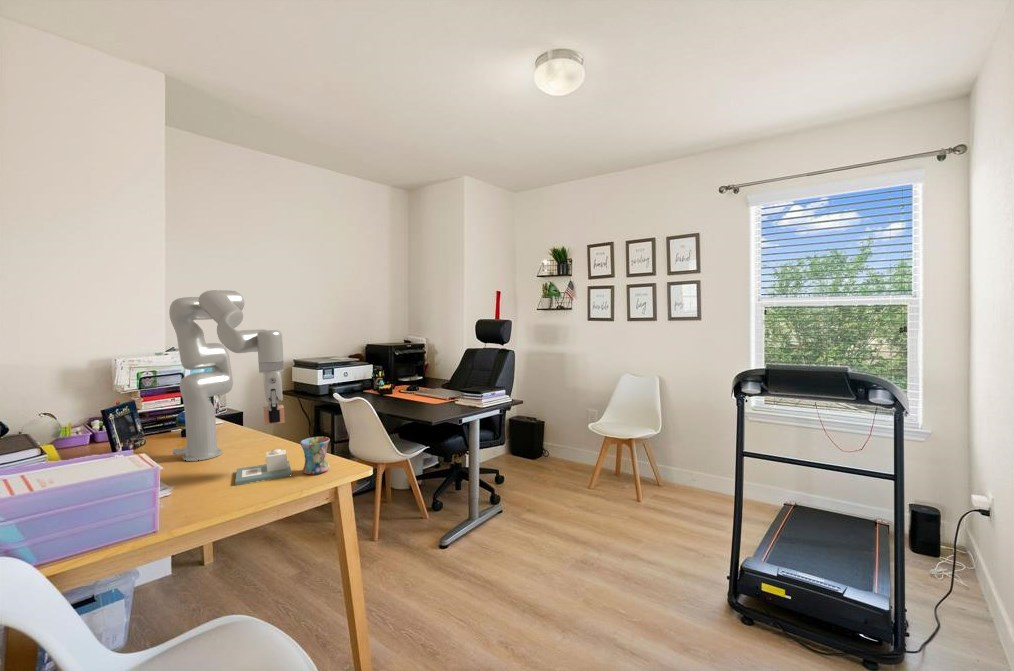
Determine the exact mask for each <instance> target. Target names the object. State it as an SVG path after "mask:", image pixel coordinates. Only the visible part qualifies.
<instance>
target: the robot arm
mask: <svg viewBox="0 0 1014 671" xmlns="http://www.w3.org/2000/svg"><path fill="white" fill-rule="evenodd" d="M244 308H245V299H244V297H243V296H242V294H241V293H239V292H238V291H236V290H227V289H226V290H224V289H222V290H221V289H220V290H217V289H210V290H206V291H204V292H202V293H201V294H200V295H199V296H186V297H185V296H183V297H179V298H176V299H174V300H173V301H172V302H171V304H170V306H169V319H170V322H171V325H172V327H173V329H174V332H175V334H176V339H177V346H178V353H179V358H180V363H181V365H182V367H183V368H184V369H185V370H188V371H189V370H190V371H191V370H192V371H193V370H194V371H195V370H204V369H205V370H206V369H211V370H212V371H203V372H195V373H194V372H193V373H191V374H187V375H186V376H184V377H182V378H181V380H180V382H179V390H180V394H181V397H182V401H183V408H184V420H185V438H186V446H183V447H182V448H173V449H172V455H176V456H178V455H182V460H183V461H185V460H186V461H185V462H197V461H198V460H199V461H204V460H210V459H213V458H216V457H219V456H220V455H222V454H223V450H222V449H221V448H218V442H217V441H218V440H217V439H218V438H217V423H216V410H215V405H213V403H212V402H211V401H210V400H209V399H208V398H210V397H215V396H221V395H226V394H228V393H230V392H231V391H232V389H233V384H234V379H233V374H232V366H231V361H230V354H229V351H230V352H232V353H234V354H246V353H257V361H258V373H260V374H262V375H263V388H264V396H265V399H266V402H267V403H268V406H269V410H270V411H269V423H275V422H280V410H279V406H278V405H279V401H280V402H282V401H283V398H284V396H283V381H282V379H283V378H282V372H284V371H285V365H284V364H285V362H284V347H283V346H284V345H283V343H284V342H283V333H282V331H280V330H279V329H278V330H277V329H271V330H270V329H269V330H267V329H242V330H238V329H236V328H237V327H239V325H241V323H242V321H243V319H244V313H243V309H244ZM196 320H197V321H198V320H199V321H200V320H201V321H206V320H207V321H208V320H213V321H214V322H215V323H216V324H217V325H216V335H217V338H218V341H219V342H221V343H219V342H211V343H207V342H206V340H205V333H204V331H203V329H202V328H201V327H200V326H199V325H198V323H196V322H195V321H196ZM199 461H198V462H199Z"/></svg>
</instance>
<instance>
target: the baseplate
mask: <svg viewBox="0 0 1014 671" xmlns="http://www.w3.org/2000/svg"><path fill="white" fill-rule="evenodd" d="M265 455H266V456H265V458H266V461H265V462H266V464H260V465H259V464H258V465H252V466H246V467H241V468H236V473H235V486H240V484H242V485H246V484H245V483H248V484H251V483H250V482H254V483H257V482H256V481H259V482H263V481H262V480H265V481H269V480H268V479H271V480H275V479H274V478H277V479H281V478H280V477H283V478H286V477H285V476H289V477H291V476H290V475H292V474H293V472H292V469H291V464H290V461H289V460H288V458H287V449H280V448H275V449H272V450H271V451H266V452H265Z"/></svg>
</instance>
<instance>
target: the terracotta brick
mask: <svg viewBox="0 0 1014 671" xmlns="http://www.w3.org/2000/svg"><path fill="white" fill-rule="evenodd" d="M278 406H279V410H280V422H275V423H269V411H270V410H269V405H268V406H263V421H264V423H263V424H264V426H270V425H275V424H276V425H277V424H285V423H286V420H285V419H286V418H285V407H284V404H280V405H279V404H278Z"/></svg>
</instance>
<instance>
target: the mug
mask: <svg viewBox="0 0 1014 671" xmlns="http://www.w3.org/2000/svg"><path fill="white" fill-rule="evenodd" d="M330 441H331V439H330V437H327V436H314V437H308V438H305V439H302V440H300V442H299V444H300V446H301V448H302V450H303V454H304V466H303V469H302V472H303V473H304V474H307V475H317V474H322V473H325V472H326V471H329V470H330V468H331V467H330V466H331V465H329V464H330V463H329V462H328V459H327V453H328V452H327V451H328V446H329V443H330Z"/></svg>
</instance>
